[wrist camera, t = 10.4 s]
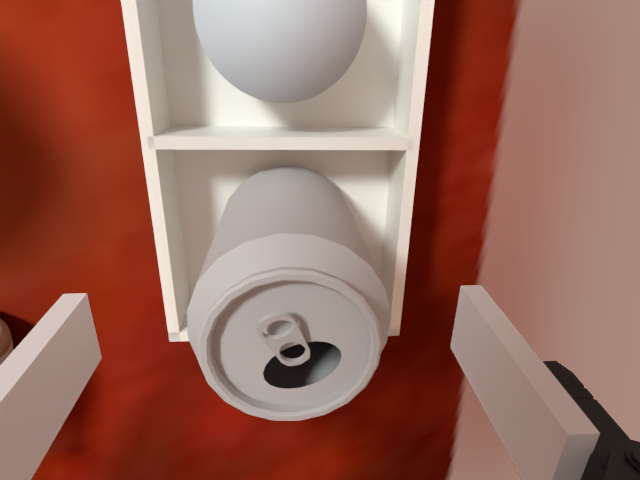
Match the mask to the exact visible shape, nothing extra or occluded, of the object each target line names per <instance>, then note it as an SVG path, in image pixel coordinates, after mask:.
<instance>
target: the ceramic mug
mask: <svg viewBox="0 0 640 480" xmlns="http://www.w3.org/2000/svg"><path fill="white" fill-rule="evenodd" d="M13 350H14V348H13V341H12V336H11V332H10V330H9V327H8V326H7V324H6V323H5V322H4V321H3V320H2V319H0V365H1V364H2V363H3V362H4V361H5V359H6V358H7V357H8V356H9V355H10V354H11V353H12V352H13Z"/></svg>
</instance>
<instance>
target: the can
mask: <svg viewBox="0 0 640 480" xmlns="http://www.w3.org/2000/svg"><path fill="white" fill-rule="evenodd" d="M390 321H391V313H390V308H389V303H388V297H387V292H386V289H385V286H384V284H383V282H382V279H381V277H380V275H379V272H378V270H377V268H376V265H375V263H374V260H373V258H372V256H371V253H370V251H369V249H368V246H367V244H366V242H365V239H364V237H363V235H362V232H361V230H360V227H359V225H358V223H357V220H356V218H355V216H354V213H353V211H352V209H351V206H350V204H349V203H348V201H347V200H346V198H345V196H344V195H343V193H342V191H341V190H340V188H339V187H337V186H336V185H335V184H334V183H333V182H331V181H330V180H329V179H328V178H327V177H325V176H324V175H322V174H320V173H317V172H315V171H312V170H310V169H307V168H304V167H294V166H278V167H274V168H270V169H266V170H262V171H259V172H258V173H256V174H254V175H253V176H251V177H250V178H248V179H246V180H245V181H243V182H242V183H241V184H240V185H239V186H238V188H237V189H236V190H235V191H234V193H233V194H232V195H231V196H230V197H229V199H228V201H227V204H226V207H225V209H224V212H223V215H222V217H221V220H220V223H219V225H218V228H217V230H216V233H215V236H214V238H213V241H212V244H211V246H210V249H209V252H208V254H207V257H206V259H205V262H204V265H203V267H202V270H201V273H200V275H199V278H198V281H197V283H196V286H195V289H194V292H193V294H192V297H191V300H190V303H189V306H188V309H187V324H188V339H189V341H190V343H191V346H192V348H193V350H194V352H195V355H196V357H197V359H198V362H199V365H200V367H201V369H202V371H203V374H204V376H205V378H206V381H207V383H208V384H209V385H210V386H211V387H212V388H213V389H214V391H215V392H216V393H217V394H218V395H219V396H220V397H221V398H222V399H223V400H224V401H225V402H227V403H229V404H230V405H232V406H234V407H236V408H237V409H239V410H241V411H243V412H244V413H246V414H249V415H253V416H257V417H261V418H265V419H269V420H274V421H300V420H304V419H309V418H313V417H317V416H322V415H326V414H328V413H329V412H331V411H333V410H335V409H337V408H339V407H341V406H343V405H345V404H347V403H349V402H350V401H351V400H352V399H353V398H354V397H355V396H356V395H357V394H358V393H360V392H361V391H362V390H363V389H364V388H365V387H366V386H367V385H368V383H369V381H370V379H371V378H372V376H373V374H374V372H375V371H376V369H377V367H378V365H379V360H380V354H381V352H382V350H383V348H384V347H385V345H386V343H387V338H388V332H389V327H390Z"/></svg>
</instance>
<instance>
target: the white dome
mask: <svg viewBox="0 0 640 480" xmlns="http://www.w3.org/2000/svg"><path fill="white" fill-rule="evenodd" d="M193 15H194V22H195V26H196V30H197V34H198V37H199V40H200V42H201V45H202V47H203V49H204V51H205V53H206V55H207V57H208V58H209V60H210V61H211V63H212V64H213V66H214V67H215V68H216V70H217V71H218V72H219V73H220V74H221V75H222V76H223V77H224V78H225V79H226V80H227V81H228V82H229V83H230V84H232V85H233V86H234V87H236V88H237V89H239V90H240V91H242V92H244V93H246V94H248V95H250V96H252V97H254V98H257V99H260V100H264V101H268V102H275V103H293V102H298V101H303V100H306V99H309V98H312V97H314V96H316V95H318V94H320V93H322V92H324V91H325V90H327V89H328V88H330V87H331V86H332V85H334V84H335V83H336V82H337V81H338V80H339V79H340V78H341V77H342V76H343V75H344V73H345V72H346V71H347V70H348V68H349V67H350V65H351V64H352V62H353V61H354V59H355V57H356V55H357V53H358V51H359V48H360V45H361V43H362V40H363V36H364V31H365V27H366V18H367V0H193Z"/></svg>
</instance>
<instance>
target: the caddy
mask: <svg viewBox="0 0 640 480" xmlns="http://www.w3.org/2000/svg"><path fill="white" fill-rule="evenodd" d="M434 2H435V0H367V18H366V27H365V31H364V36H363V40H362V43H361V45H360V48H359V51H358V53H357V55H356V57H355V59H354V61H353V62H352V64H351V65H350V67H349V68H348V70H347V71H346V72H345V73H344V75H343V76H342V77H341V78H340V79H339V80H338V81H337V82H336V83H335V84H334V85H332V86H331V87H330V88H328V89H327V90H325V91H324V92H322V93H320V94H318V95H316V96H314V97H312V98H309V99H306V100H303V101H298V102H293V103H275V102H268V101H264V100H260V99H257V98H254V97H252V96H250V95H248V94H246V93H244V92H242V91H240V90H239V89H237V88H236V87H234V86H233V85H232V84H230V83H229V82H228V81H227V80H226V79H225V78H224V77H223V76H222V75H221V74H220V73H219V72H218V71H217V70H216V68H215V67H214V66H213V64H212V63H211V61H210V60H209V58H208V57H207V55H206V53H205V51H204V49H203V47H202V45H201V42H200V40H199V37H198V34H197V30H196V26H195V22H194V15H193V0H121V5H122V12H123V19H124V26H125V33H126V40H127V47H128V54H129V61H130V68H131V75H132V82H133V89H134V96H135V103H136V110H137V117H138V124H139V131H140V138H141V145H142V152H143V159H144V166H145V173H146V180H147V187H148V194H149V201H150V208H151V215H152V222H153V229H154V237H155V244H156V251H157V258H158V265H159V272H160V279H161V286H162V293H163V300H164V307H165V314H166V321H167V328H168V335H169V342H174V341H189V339H188V324H187V309H188V306H189V303H190V300H191V297H192V294H193V292H194V289H195V286H196V283H197V281H198V278H199V275H200V273H201V270H202V267H203V265H204V262H205V259H206V257H207V254H208V252H209V249H210V246H211V244H212V241H213V238H214V236H215V233H216V230H217V228H218V225H219V223H220V220H221V217H222V215H223V212H224V209H225V207H226V204H227V201H228V199H229V197H230V196H231V195H232V194H233V193H234V191H235V190H236V189H237V188H238V186H239V185H240V184H241V183H242V182H243V181H245V180H246V179H248V178H250V177H251V176H253V175H254V174H256V173H258V172H259V171H262V170H266V169H270V168H274V167H278V166H294V167H304V168H307V169H310V170H312V171H315V172H317V173H320V174H322V175H324V176H325V177H327V178H328V179H329V180H330V181H331V182H333V183H334V184H335V185H336V186H337V187H339V188H340V190H341V191H342V193H343V195H344V196H345V198H346V200H347V201H348V203H349V204H350V206H351V209H352V211H353V213H354V216H355V218H356V220H357V223H358V225H359V227H360V230H361V232H362V235H363V237H364V239H365V242H366V244H367V246H368V249H369V251H370V253H371V256H372V258H373V260H374V263H375V265H376V268H377V270H378V272H379V275H380V277H381V279H382V282H383V284H384V286H385V289H386V292H387V297H388V303H389V308H390V313H391V321H390V327H389V332H388V336H399V334H400V324H401V315H402V305H403V296H404V286H405V277H406V267H407V258H408V249H409V239H410V230H411V220H412V211H413V201H414V192H415V182H416V173H417V163H418V154H419V144H420V135H421V125H422V116H423V106H424V97H425V87H426V78H427V68H428V59H429V49H430V40H431V31H432V21H433V12H434Z"/></svg>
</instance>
